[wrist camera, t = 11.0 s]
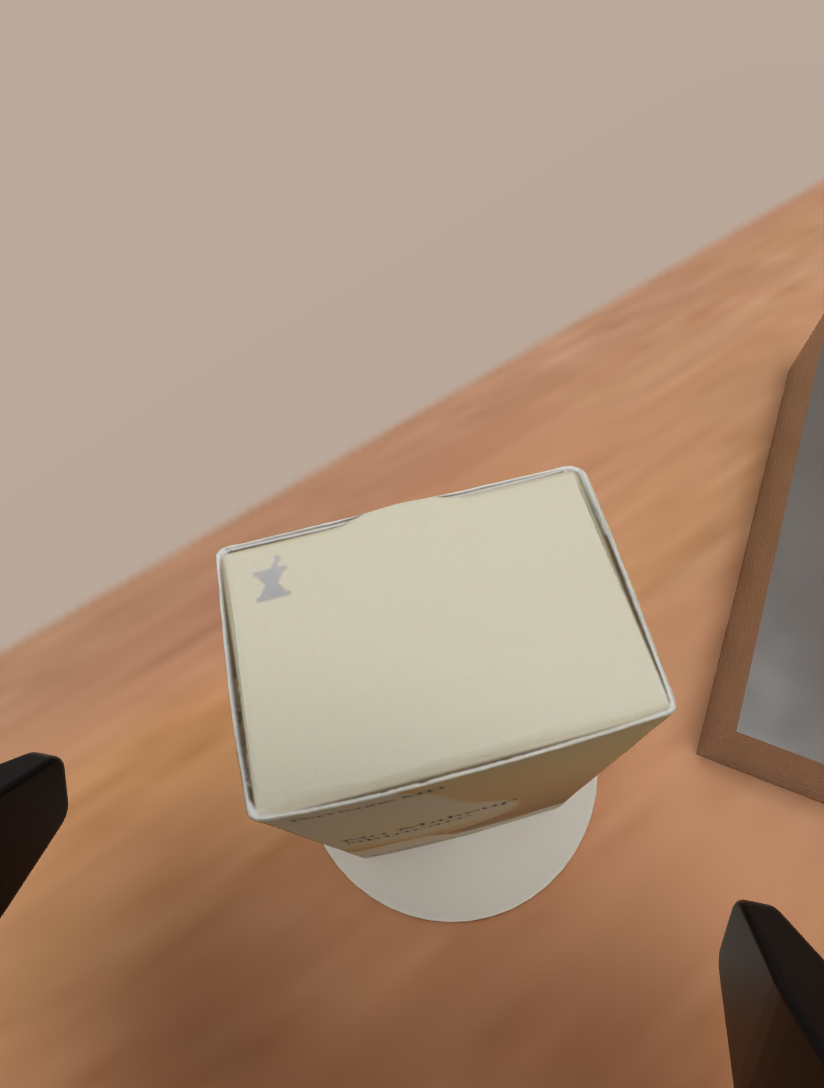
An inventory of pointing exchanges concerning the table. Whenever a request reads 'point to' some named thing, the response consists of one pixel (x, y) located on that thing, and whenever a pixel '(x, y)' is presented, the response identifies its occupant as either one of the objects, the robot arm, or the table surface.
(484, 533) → the skincare box
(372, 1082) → the table surface
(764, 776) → the socket block
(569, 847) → the coaster
